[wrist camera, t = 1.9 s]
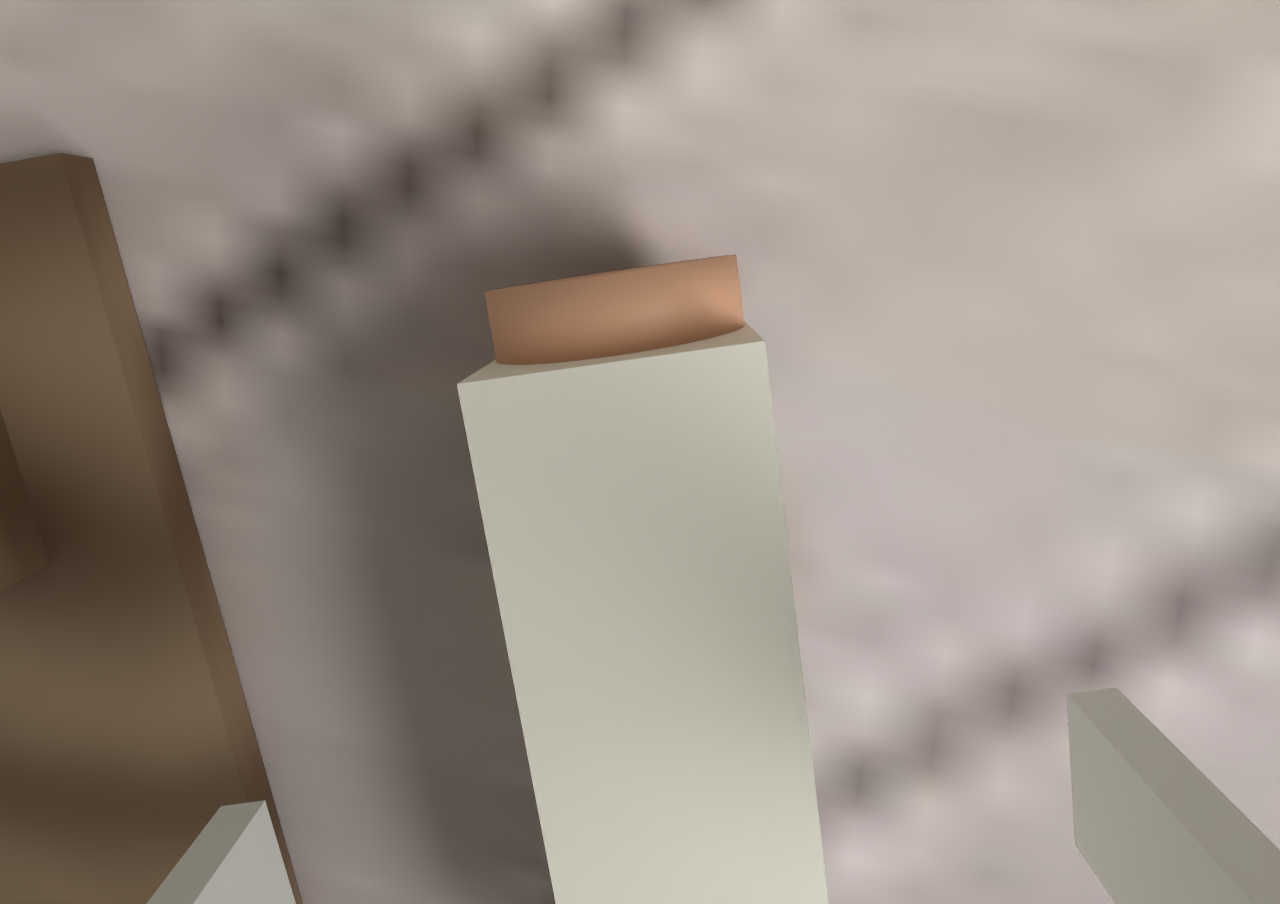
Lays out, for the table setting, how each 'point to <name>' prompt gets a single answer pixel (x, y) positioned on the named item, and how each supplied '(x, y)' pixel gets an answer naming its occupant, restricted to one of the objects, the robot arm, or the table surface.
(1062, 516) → the table surface
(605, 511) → the block
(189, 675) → the cradle
